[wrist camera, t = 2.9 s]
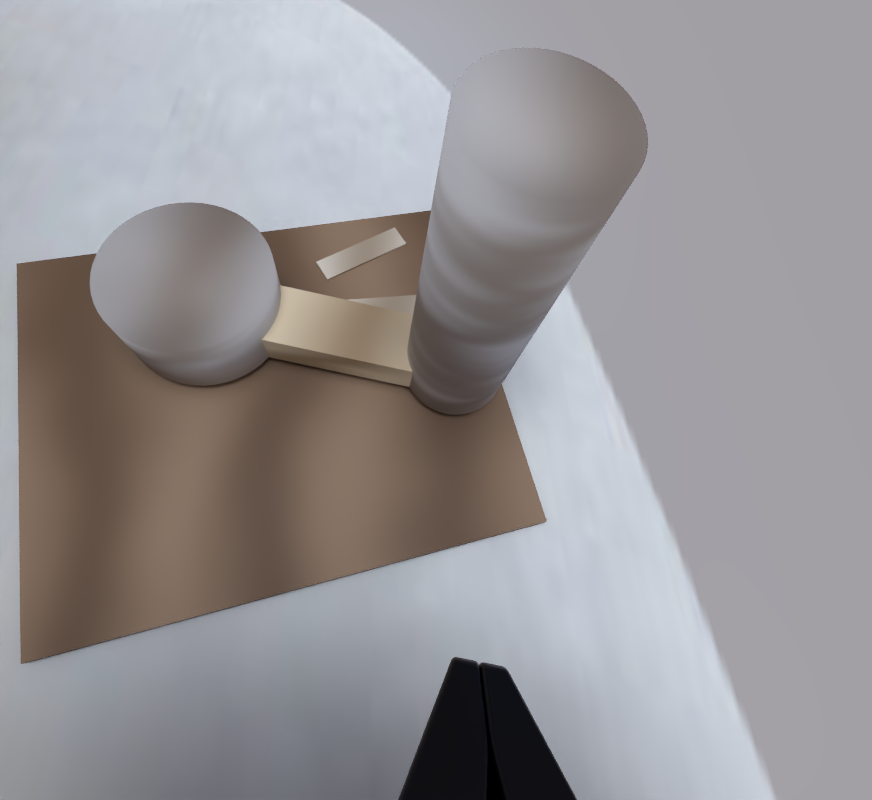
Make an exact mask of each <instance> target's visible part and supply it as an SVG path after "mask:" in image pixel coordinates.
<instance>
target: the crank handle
mask: <svg viewBox="0 0 872 800" xmlns="http://www.w3.org/2000/svg"><path fill="white" fill-rule="evenodd" d="M647 148H648V137H647V130H646V125H645V122H644V120H643V117H642V114H641V113H640V111H639V109H638V107H637V105H636V104H635V102H634V101H633V99H632V98H631V97H630V95H629V94H628V93H627V92H626V91H625V90H624V89H623V87H621V86H620V85H619V84H618V83H617V82H616V81H615V80H614V79H613V78H611V77H610V76H609V75H607V74H606V73H605V72H603V71H601V70H600V69H598V68H597V67H595V66H593V65H592V64H589V63H588V62H586V61H584V60H581V59H579V58H576V57H574V56H571V55H568V54H565V53H561V52H557V51H553V50H548V49H539V48H514V49H507V50H502V51H498V52H495V53H492V54H489V55H487V56H485V57H483V58H481V59H479V60H477V61H476V62H474V63H473V64H472V65H470V66H469V67H468V68H467V69H466V70H465V71H464V72H463V73H462V74H461V76H460V77H459V78H458V80H457V82H456V84H455V86H454V88H453V91H452V94H451V99H450V105H449V110H448V116H447V122H446V128H445V133H444V139H443V145H442V151H441V156H440V162H439V168H438V174H437V179H436V185H435V191H434V197H433V202H432V208H431V214H430V220H429V225H428V231H427V237H426V243H425V248H424V254H423V260H422V266H421V272H420V277H419V283H418V289H417V295H416V300H415V306H414V312H413V314H408V313H404V312H399V311H395V310H390V309H386V308H381V307H377V306H372V305H368V304H363V303H359V302H354V301H349V300H345V299H340V298H336V297H331V296H327V295H322V294H318V293H313V292H309V291H304V290H300V289H295V288H290V287H286V286H281V285H280V281H279V278H278V274H277V270H276V267H275V263H274V259H273V255H272V253H271V250H270V247H269V245H268V243H267V242H266V240H265V238H264V237H263V236H262V234H261V233H260V232H259V230H258V229H257V228H255V227H254V226H253V225H252V224H251V223H250V222H249V221H247V220H246V219H244V218H243V217H241V216H240V215H238V214H236V213H234V212H232V211H229V210H227V209H224V208H221V207H218V206H214V205H209V204H203V203H176V204H168V205H164V206H160V207H156V208H153V209H150V210H147V211H145V212H143V213H140V214H138V215H136V216H134V217H133V218H131V219H129V220H128V221H126V222H125V223H123V224H122V225H121V226H119V227H118V228H117V229H116V230H115V231H114V232H113V233H112V234H110V235H109V237H108V238H107V239H106V240H105V242H104V243H103V244H102V246H101V247H100V249H99V251H98V252H97V254H96V257H95V259H94V261H93V264H92V268H91V272H90V292H91V296H92V300H93V303H94V305H95V308H96V310H97V312H98V313H99V315H100V316H101V318H102V319H103V321H104V322H105V323H106V324H107V325H108V326H109V327H110V328H111V329H112V330H113V331H114V332H115V333H116V334H117V335H118V336H119V338H120V339H121V340H122V341H123V342H124V343H125V344H126V345H127V346H128V347H129V348H130V349H131V350H132V351H133V352H134V353H135V354H136V355H137V357H138V358H139V359H140V360H141V361H142V362H143V363H144V364H145V365H146V366H147V367H148V368H150V369H151V370H152V371H153V372H155V373H157V374H158V375H160V376H162V377H164V378H166V379H168V380H171V381H174V382H177V383H181V384H187V385H196V386H206V385H216V384H221V383H226V382H229V381H232V380H235V379H238V378H240V377H242V376H244V375H246V374H248V373H249V372H251V371H253V370H254V369H256V368H257V367H258V366H260V365H261V364H262V363H263V362H264V361H265V360H266V359H267V358H268V357H270V358H275V359H280V360H285V361H289V362H294V363H299V364H303V365H308V366H313V367H318V368H322V369H327V370H332V371H336V372H341V373H346V374H351V375H355V376H360V377H365V378H369V379H374V380H379V381H384V382H388V383H393V384H398V385H402V386H407V387H410V389H411V390H412V392H413V393H414V395H415V396H416V397H417V398H418V399H419V400H420V401H421V402H422V403H423V404H425V405H426V406H428V407H429V408H431V409H433V410H435V411H438V412H441V413H445V414H451V415H460V414H467V413H471V412H474V411H476V410H478V409H480V408H482V407H483V406H484V405H486V404H487V403H488V402H489V401H490V400H491V399H492V398H493V396H494V395H495V393H496V392H497V390H498V389H499V387H500V386H501V384H502V383H503V381H504V379H505V378H506V376H507V375H508V373H509V372H510V370H511V369H512V367H513V366H514V364H515V363H516V361H517V359H518V358H519V356H520V355H521V353H522V352H523V350H524V349H525V347H526V346H527V344H528V342H529V341H530V339H531V338H532V336H533V335H534V333H535V332H536V330H537V329H538V327H539V326H540V324H541V322H542V321H543V319H544V318H545V316H546V315H547V313H548V312H549V310H550V309H551V307H552V305H553V304H554V302H555V301H556V299H557V298H558V296H559V295H560V293H561V292H562V290H563V288H564V287H565V285H566V284H567V282H568V281H569V279H570V278H571V276H572V275H573V273H574V272H575V270H576V268H577V267H578V265H579V264H580V262H581V261H582V259H583V258H584V256H585V255H586V253H587V251H588V250H589V248H590V247H591V245H592V244H593V242H594V241H595V239H596V238H597V236H598V234H599V233H600V231H601V230H602V228H603V227H604V225H605V224H606V222H607V221H608V219H609V218H610V216H611V214H612V213H613V211H614V210H615V208H616V207H617V205H618V204H619V202H620V200H621V199H622V197H623V196H624V194H625V193H626V191H627V190H628V188H629V186H630V185H631V184H632V182H633V180H634V179H635V177H636V176H637V174H638V173H639V171H640V169H641V167H642V165H643V163H644V161H645V158H646V155H647Z"/></svg>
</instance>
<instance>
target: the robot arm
mask: <svg viewBox="0 0 872 800" xmlns="http://www.w3.org/2000/svg"><path fill="white" fill-rule="evenodd" d="M398 800H577V799H576V797H575V795H574V793H573V792H572V790H571V788H570V786H569V784H568V782H567V780H566V778H565V777H564V775H563V773H562V771H561V769H560V767H559V765H558V763H557V762H556V760H555V758H554V756H553V754H552V752H551V750H550V748H549V747H548V745H547V743H546V741H545V739H544V737H543V735H542V733H541V732H540V730H539V728H538V726H537V724H536V722H535V720H534V718H533V717H532V715H531V713H530V711H529V709H528V707H527V705H526V704H525V702H524V700H523V698H522V696H521V694H520V692H519V690H518V689H517V687H516V685H515V683H514V681H513V679H512V677H511V675H510V674H509V672H508V670H507V669H506V668H504V667H503V666H499V665H494V664H489V663H480V664H479V665H478V663H477V662H476V661H473V660H468V659H463V658H458V657H454V658H453V659H452V660H451V662H450V665H449V667H448V670H447V673H446V675H445V678H444V681H443V683H442V686H441V688H440V691H439V694H438V696H437V699H436V702H435V704H434V707H433V710H432V712H431V715H430V717H429V720H428V723H427V725H426V728H425V731H424V733H423V736H422V738H421V741H420V744H419V746H418V749H417V752H416V754H415V757H414V759H413V762H412V765H411V767H410V770H409V773H408V775H407V778H406V781H405V783H404V786H403V788H402V791H401V794H400V796H399V799H398Z"/></svg>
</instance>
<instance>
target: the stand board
mask: <svg viewBox="0 0 872 800" xmlns="http://www.w3.org/2000/svg"><path fill="white" fill-rule="evenodd" d="M430 214H431V211H423V212H416V213H408V214H400V215H392V216H385V217H377V218H369V219H361V220H353V221H346V222H338V223H330V224H322V225H315V226H307V227H299V228H291V229H284V230H276V231H268V232H260V233H261V234H262V236H263V237H264V238H265V240H266V242H267V243H268V245H269V247H270V250H271V253H272V255H273V259H274V263H275V267H276V270H277V274H278V278H279V281H280V285H281V286H286V287H290V288H295V289H300V290H304V291H309V292H313V293H318V294H322V295H327V296H331V297H336V298H340V299H345V300H349V301H354V302H359V303H363V304H368V305H372V306H377V307H381V308H386V309H390V310H395V311H399V312H404V313H408V314H413V312H414V306H415V300H416V295H417V289H418V283H419V277H420V272H421V266H422V260H423V254H424V248H425V243H426V237H427V231H428V225H429V220H430ZM95 257H96V254H89V255H81V256H74V257H66V258H58V259H50V260H43V261H35V262H27V263H19V264H17V315H18V420H19V526H20V631H21V664H23V663H27V662H31V661H35V660H38V659H42V658H46V657H50V656H53V655H57V654H61V653H64V652H68V651H72V650H75V649H79V648H83V647H86V646H90V645H94V644H97V643H101V642H105V641H109V640H112V639H116V638H120V637H123V636H127V635H131V634H134V633H138V632H142V631H145V630H149V629H153V628H156V627H160V626H164V625H168V624H171V623H175V622H179V621H182V620H186V619H190V618H193V617H197V616H201V615H204V614H208V613H212V612H215V611H219V610H223V609H227V608H230V607H234V606H238V605H241V604H245V603H249V602H252V601H256V600H260V599H263V598H267V597H271V596H274V595H278V594H282V593H286V592H289V591H293V590H297V589H300V588H304V587H308V586H311V585H315V584H319V583H322V582H326V581H330V580H333V579H337V578H341V577H344V576H348V575H352V574H356V573H359V572H363V571H367V570H370V569H374V568H378V567H381V566H385V565H389V564H392V563H396V562H400V561H403V560H407V559H411V558H415V557H418V556H422V555H426V554H429V553H433V552H437V551H440V550H444V549H448V548H451V547H455V546H459V545H462V544H466V543H470V542H474V541H477V540H481V539H485V538H488V537H492V536H496V535H499V534H503V533H507V532H510V531H514V530H518V529H521V528H525V527H529V526H533V525H536V524H540V523H544V522H546V518H545V515H544V512H543V509H542V506H541V503H540V500H539V497H538V494H537V491H536V487H535V484H534V481H533V478H532V475H531V472H530V469H529V466H528V463H527V460H526V457H525V454H524V451H523V448H522V445H521V442H520V439H519V436H518V433H517V429H516V426H515V423H514V420H513V417H512V414H511V411H510V408H509V405H508V402H507V399H506V396H505V393H504V390H503V387H502V384H501V386H500V387H499V389H498V390H497V392H496V393H495V395H494V396H493V398H492V399H491V400H490V401H489V402H488V403H487V404H486V405H484V406H483V407H482V408H480V409H478V410H476V411H474V412H471V413H467V414H460V415H451V414H445V413H441V412H438V411H435V410H433V409H431V408H429V407H428V406H426V405H425V404H423V403H422V402H421V401H420V400H419V399H418V398H417V397H416V396H415V395H414V393H413V392H412V390H411V389H410V387H407V386H402V385H398V384H393V383H388V382H384V381H379V380H374V379H369V378H365V377H360V376H355V375H351V374H346V373H341V372H336V371H332V370H327V369H322V368H318V367H313V366H308V365H303V364H299V363H294V362H289V361H285V360H280V359H275V358H270V357H268V358H267V359H266V360H265V361H264V362H263V363H262V364H261V365H260V366H258V367H257V368H256V369H254V370H253V371H251V372H249V373H248V374H246V375H244V376H242V377H240V378H238V379H235V380H232V381H229V382H226V383H221V384H216V385H206V386H196V385H187V384H181V383H177V382H174V381H171V380H168V379H166V378H164V377H162V376H160V375H158V374H157V373H155V372H153V371H152V370H151V369H150V368H148V367H147V366H146V365H145V364H144V363H143V362H142V361H141V360H140V359H139V358H138V357H137V355H136V354H135V353H134V352H133V351H132V350H131V349H130V348H129V347H128V346H127V345H126V344H125V343H124V342H123V341H122V340H121V339H120V338H119V336H118V335H117V334H116V333H115V332H114V331H113V330H112V329H111V328H110V327H109V326H108V325H107V324H106V323H105V322H104V321H103V319H102V318H101V316H100V315H99V313H98V312H97V310H96V308H95V305H94V303H93V300H92V296H91V292H90V272H91V268H92V264H93V261H94V259H95Z"/></svg>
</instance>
